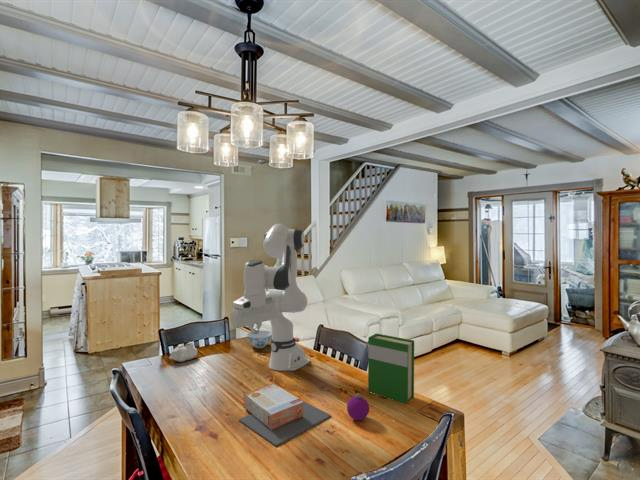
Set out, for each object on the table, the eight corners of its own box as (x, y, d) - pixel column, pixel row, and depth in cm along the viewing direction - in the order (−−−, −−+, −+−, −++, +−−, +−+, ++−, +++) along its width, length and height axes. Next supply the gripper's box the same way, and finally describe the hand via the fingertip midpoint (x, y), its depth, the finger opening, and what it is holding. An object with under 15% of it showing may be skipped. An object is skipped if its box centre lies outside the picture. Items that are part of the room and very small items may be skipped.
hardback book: (413, 397, 145) (414, 340, 144) (407, 404, 139) (407, 345, 138) (375, 386, 155) (376, 333, 155) (368, 392, 149) (368, 337, 149)
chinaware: (243, 349, 204) (243, 336, 204) (252, 342, 219) (252, 329, 219) (267, 351, 201) (267, 338, 201) (275, 343, 216) (275, 331, 216)
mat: (292, 397, 144) (292, 395, 144) (331, 416, 129) (331, 415, 129) (238, 420, 126) (238, 419, 126) (276, 447, 111) (276, 445, 111)
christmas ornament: (346, 412, 132) (346, 386, 132) (367, 413, 132) (367, 387, 131) (347, 424, 124) (347, 397, 124) (370, 425, 123) (370, 397, 123)
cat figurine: (197, 339, 193) (171, 342, 182) (203, 349, 188) (176, 353, 177) (191, 352, 196) (165, 355, 185) (196, 362, 191) (170, 367, 180)
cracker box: (243, 408, 135) (271, 431, 118) (243, 392, 134) (271, 413, 118) (274, 397, 143) (304, 417, 127) (274, 382, 143) (303, 401, 127)
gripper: (270, 295, 150) (270, 326, 151) (228, 303, 135) (229, 337, 136) (279, 297, 146) (279, 329, 146) (237, 305, 131) (238, 341, 132)
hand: (255, 333), depth 141 cm, fingers closed
